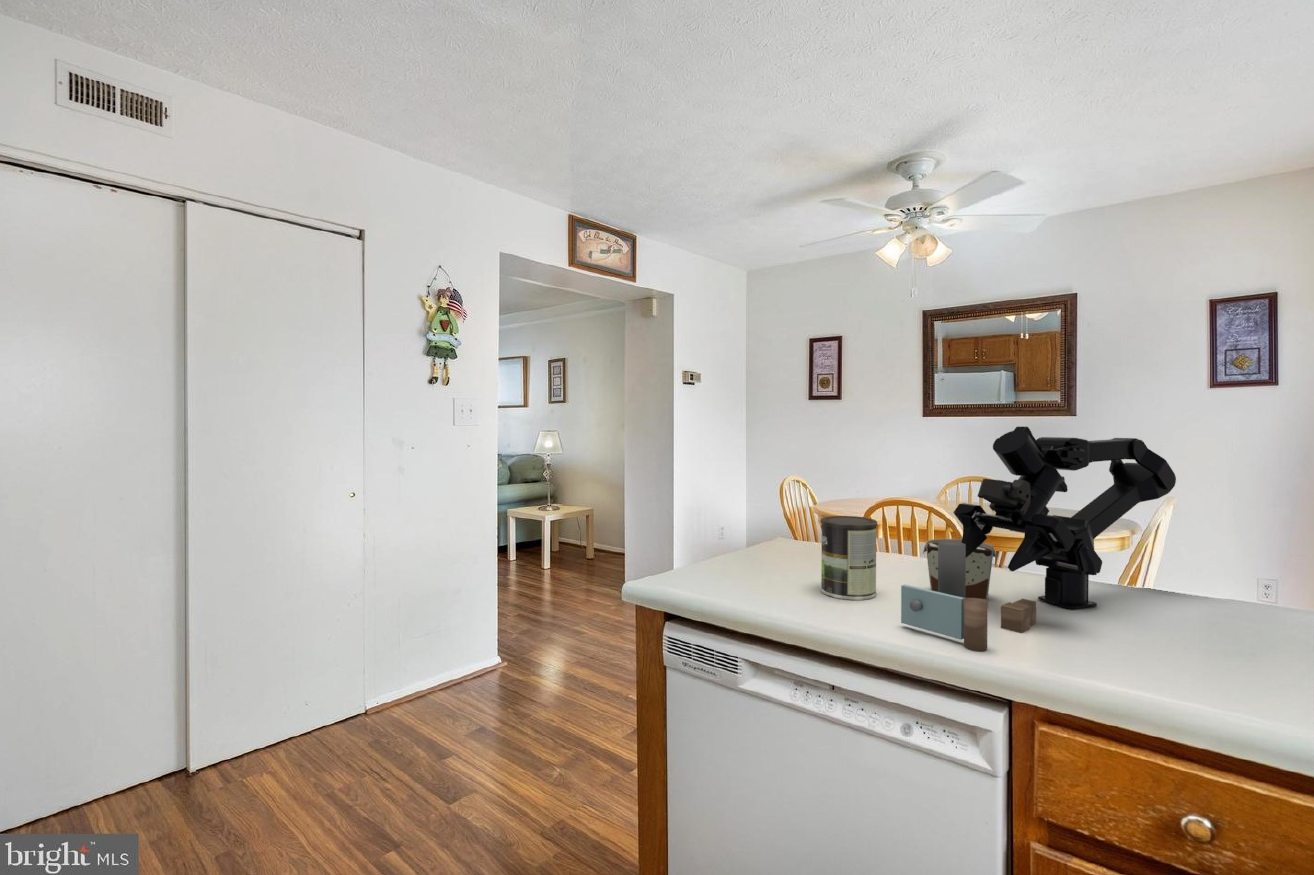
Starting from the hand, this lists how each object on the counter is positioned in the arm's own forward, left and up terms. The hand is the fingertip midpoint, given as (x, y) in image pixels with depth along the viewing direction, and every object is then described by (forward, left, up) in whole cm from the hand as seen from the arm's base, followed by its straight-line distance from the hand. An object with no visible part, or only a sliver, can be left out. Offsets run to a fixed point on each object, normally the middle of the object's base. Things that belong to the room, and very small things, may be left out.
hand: (984, 563), depth 99 cm
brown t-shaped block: (+4, +7, -9) cm, 12 cm away
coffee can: (+13, -20, -9) cm, 25 cm away
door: (+15, +4, -8) cm, 17 cm away
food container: (-6, -13, -9) cm, 17 cm away
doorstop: (+7, +1, -9) cm, 12 cm away
